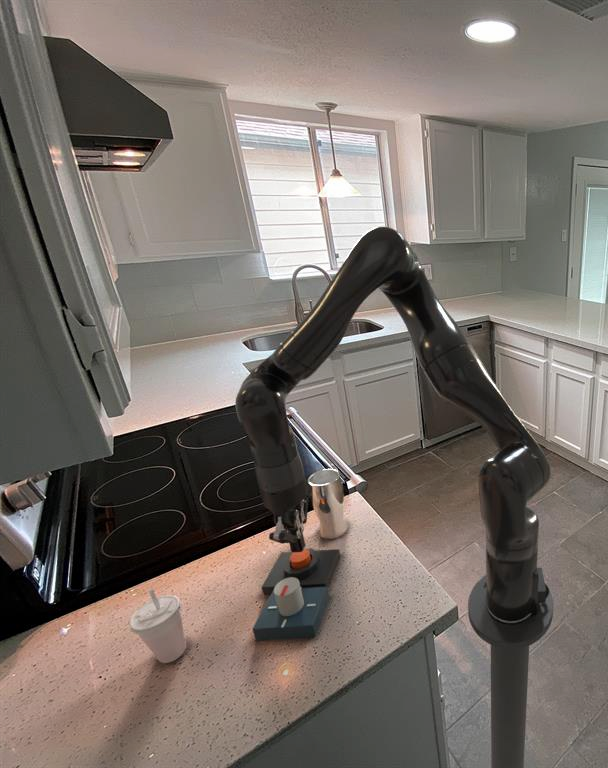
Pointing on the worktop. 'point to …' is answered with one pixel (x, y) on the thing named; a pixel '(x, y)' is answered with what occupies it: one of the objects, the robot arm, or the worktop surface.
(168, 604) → the smoothie
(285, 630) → the knob panel
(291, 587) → the dial
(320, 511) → the silver metal cup
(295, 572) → the orange push button panel
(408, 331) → the robot arm
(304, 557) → the button
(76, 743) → the worktop surface
